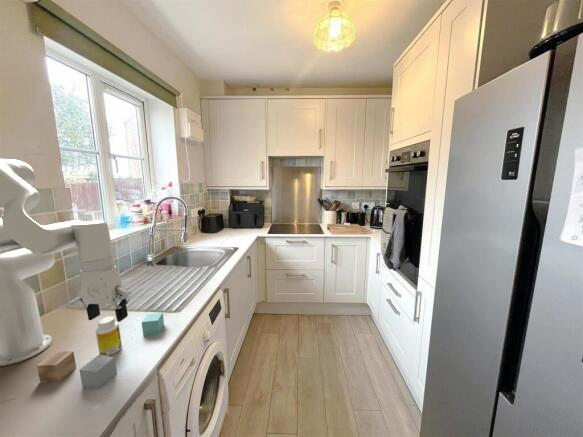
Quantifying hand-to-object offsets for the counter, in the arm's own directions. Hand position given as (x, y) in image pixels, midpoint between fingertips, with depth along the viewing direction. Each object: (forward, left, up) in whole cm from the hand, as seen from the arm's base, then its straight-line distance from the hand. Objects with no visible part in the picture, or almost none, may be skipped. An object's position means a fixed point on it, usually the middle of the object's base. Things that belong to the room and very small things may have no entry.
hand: (108, 318), depth 72 cm
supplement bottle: (-1, 0, -11) cm, 11 cm away
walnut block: (-7, -10, -11) cm, 16 cm away
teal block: (+5, +11, -11) cm, 16 cm away
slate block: (+6, -10, -11) cm, 16 cm away
